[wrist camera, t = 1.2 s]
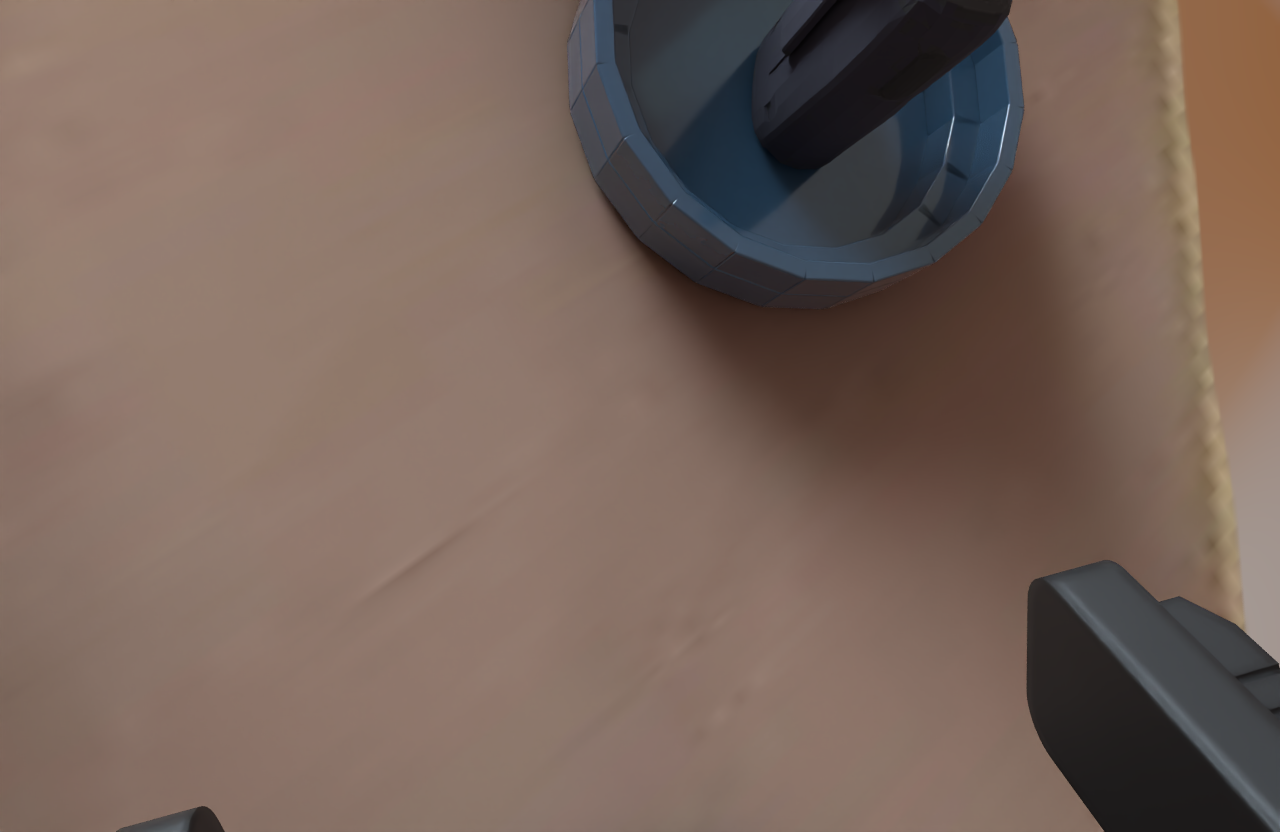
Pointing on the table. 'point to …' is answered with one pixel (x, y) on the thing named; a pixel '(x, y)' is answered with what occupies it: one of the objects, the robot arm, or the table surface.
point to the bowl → (755, 180)
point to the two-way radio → (856, 68)
